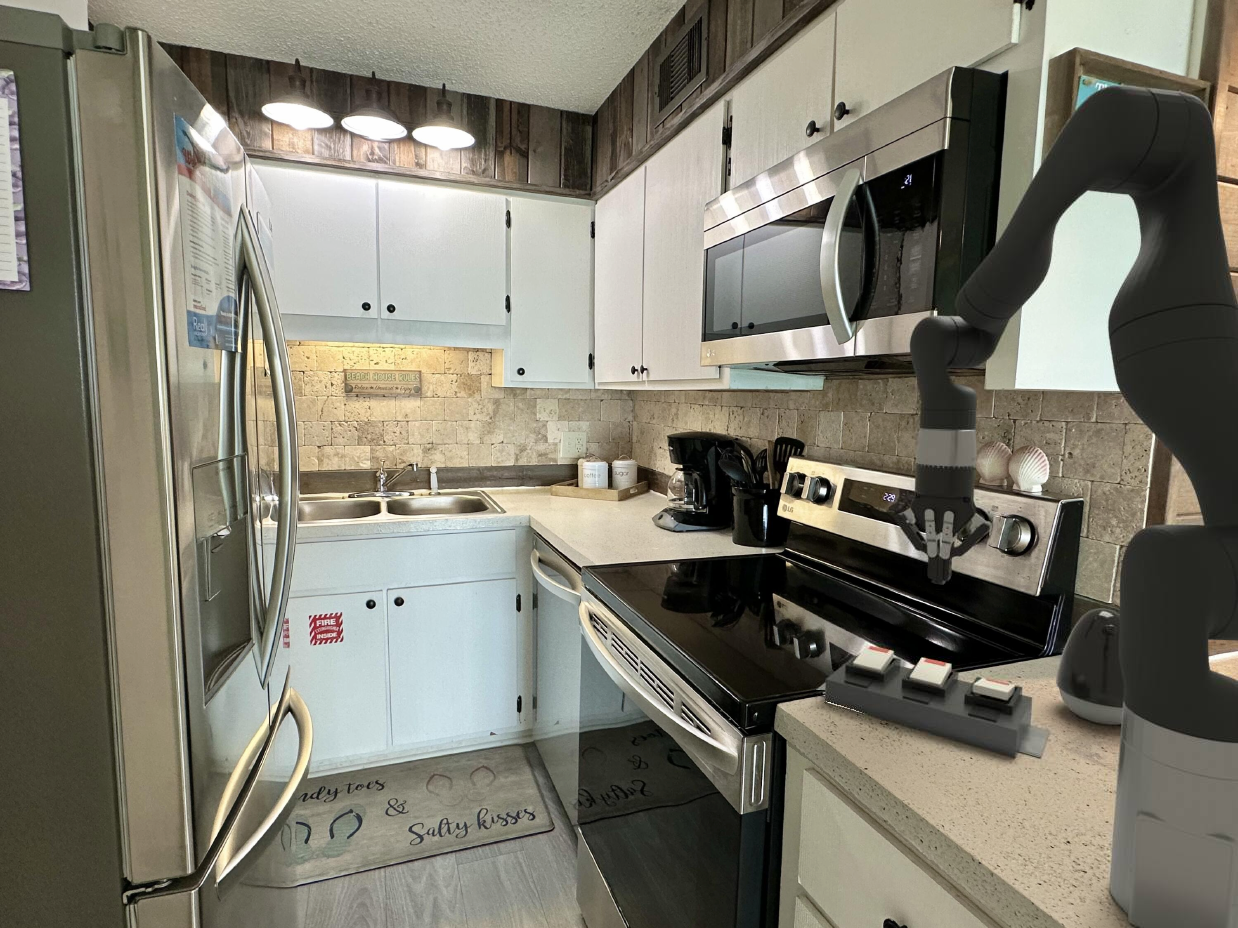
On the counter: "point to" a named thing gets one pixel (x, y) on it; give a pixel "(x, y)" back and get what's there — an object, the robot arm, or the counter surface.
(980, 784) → the counter surface
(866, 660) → the rocker
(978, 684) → the rocker
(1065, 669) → the pump dispenser
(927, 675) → the middle rocker
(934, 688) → the rocker switch box
